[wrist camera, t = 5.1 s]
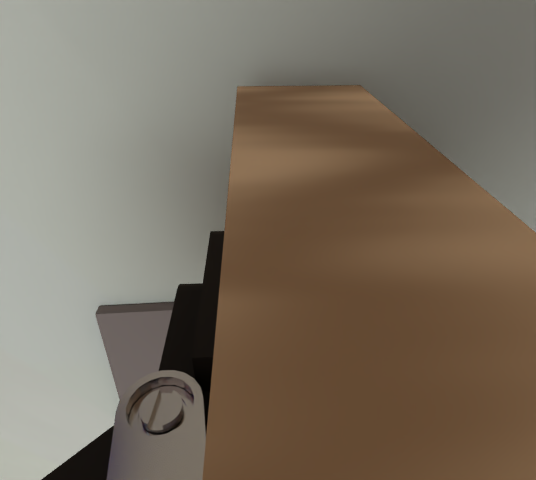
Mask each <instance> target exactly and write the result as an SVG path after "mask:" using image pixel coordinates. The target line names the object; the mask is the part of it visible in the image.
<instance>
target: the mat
mask: <svg viewBox="0 0 536 480" xmlns="http://www.w3.org/2000/svg"><path fill="white" fill-rule="evenodd" d="M173 306H174V302H170V303H151V304H132V305H112V306H99V307H98V310H97V312H96V318H97V321H98V325H99V329H100V332H101V336H102V339H103V343H104V346H105V350H106V353H107V357H108V360H109V364H110V367H111V371H112V374H113V378H114V381H115V385H116V388H117V392H118V395H119V399H121V397H122V396H123V394H124V393H125V392H126V390H127V389H128V388H129V387H130V386H131V385H132V384H134V383H135V382H136V381H137V380H139V379H141V378H142V377H144V376H146V375H148V374H151V373H154V372H158V371H159V367H160V362H161V358H162V354H163V349H164V345H165V340H166V336H167V332H168V327H169V323H170V319H171V314H172V310H173Z"/></svg>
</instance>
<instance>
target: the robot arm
mask: <svg viewBox="0 0 536 480" xmlns="http://www.w3.org/2000/svg"><path fill="white" fill-rule="evenodd" d="M223 243H224V231H211V232H210V238H209V245H208V252H207V259H206V266H205V272H204V279H203V284H180V285H179V286H178V289H177V293H176V297H175V301H174V306H173V310H172V314H171V319H170V323H169V327H168V332H167V336H166V340H165V345H164V349H163V354H162V358H161V362H160V367H159V371H158V372H154V373H151V374H148V375H146V376H144V377H142V378H141V379H139V380H137V381H136V382H135V383H134V384H132V385H131V386H130V387H129V388H128V389H127V390H126V392H125V393H124V394H123V396H122V397H121V399H120V401H119V404H118V407H117V410H116V415H115V423H114V426H112V427H111V428H110V429H108V430H107V431H106V432H104V433H103V434H102V435H100V436H99V437H98V438H96V439H95V440H94V441H92V442H91V443H90V444H88V445H87V446H86V447H84V448H83V449H82V450H80V451H79V452H78V453H76V454H75V455H74V456H72V457H71V458H70V459H68V460H67V461H66V462H64V463H63V464H62V465H60V466H59V467H58V468H56V469H55V470H54V471H52V472H51V473H50V474H48V475H47V476H46V477H44V478H43V479H42V480H202V478H203V467H204V456H205V444H206V433H207V422H208V411H209V400H210V388H211V377H212V366H213V355H214V344H215V332H216V321H217V310H218V299H219V288H220V276H221V265H222V254H223Z"/></svg>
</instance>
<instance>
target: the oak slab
mask: <svg viewBox="0 0 536 480" xmlns="http://www.w3.org/2000/svg"><path fill="white" fill-rule="evenodd" d="M202 480H536V233H535V232H534V231H533V230H532V229H531V228H529V227H528V226H527V225H526V224H525V223H524V222H522V221H521V220H520V219H519V218H518V217H516V216H515V215H514V214H513V213H512V212H510V211H509V210H508V209H507V208H506V207H504V206H503V205H502V204H501V203H500V202H499V201H497V200H496V199H495V198H494V197H493V196H491V195H490V194H489V193H488V192H487V191H485V190H484V189H483V188H482V187H481V186H479V185H478V184H477V183H476V182H475V181H474V180H472V179H471V178H470V177H469V176H468V175H466V174H465V173H464V172H463V171H462V170H460V169H459V168H458V167H457V166H456V165H454V164H453V163H452V162H451V161H450V160H449V159H447V158H446V157H445V156H444V155H443V154H441V153H440V152H439V151H438V150H437V149H435V148H434V147H433V146H432V145H431V144H429V143H428V142H427V141H426V140H425V139H424V138H422V137H421V136H420V135H419V134H418V133H416V132H415V131H414V130H413V129H412V128H410V127H409V126H408V125H407V124H406V123H404V122H403V121H402V120H401V119H400V118H399V117H397V116H396V115H395V114H394V113H393V112H391V111H390V110H389V109H388V108H387V107H385V106H384V105H383V104H382V103H381V102H379V101H378V100H377V99H376V98H375V97H374V96H372V95H371V94H370V93H369V92H368V91H366V90H365V89H364V88H363V87H362V86H360V85H337V86H239V87H237V97H236V108H235V119H234V131H233V142H232V153H231V164H230V175H229V187H228V198H227V209H226V220H225V231H224V243H223V254H222V265H221V276H220V288H219V299H218V310H217V321H216V332H215V344H214V355H213V366H212V377H211V388H210V400H209V411H208V422H207V433H206V444H205V456H204V467H203V478H202Z"/></svg>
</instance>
